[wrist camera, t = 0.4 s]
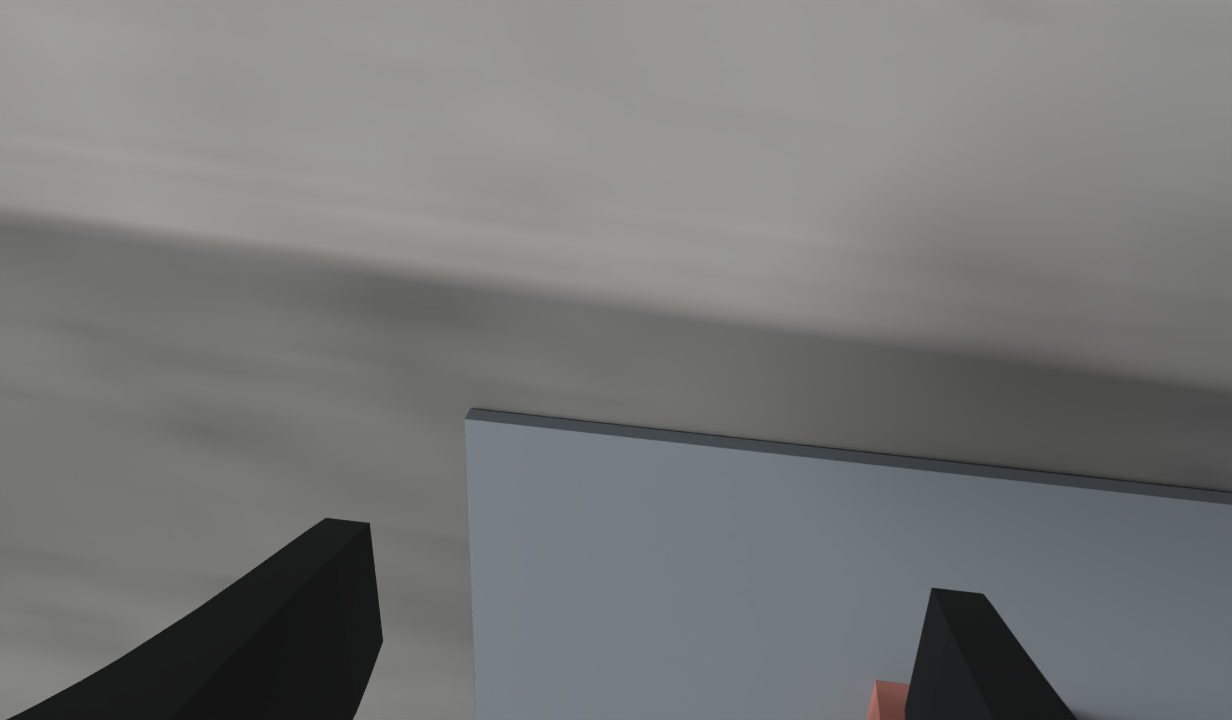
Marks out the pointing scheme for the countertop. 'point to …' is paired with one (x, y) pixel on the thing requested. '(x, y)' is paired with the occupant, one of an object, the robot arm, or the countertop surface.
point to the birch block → (888, 701)
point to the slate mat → (819, 576)
